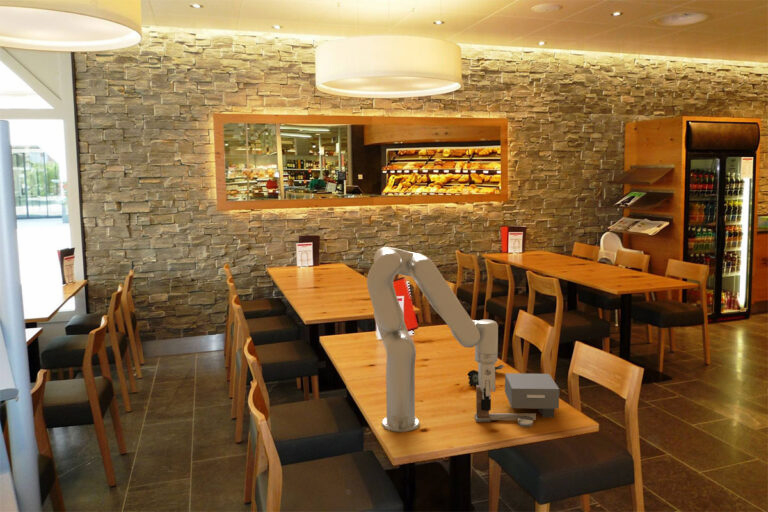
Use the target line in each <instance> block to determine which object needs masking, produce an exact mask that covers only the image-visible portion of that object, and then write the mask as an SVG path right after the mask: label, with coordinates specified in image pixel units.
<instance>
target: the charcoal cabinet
mask: <svg viewBox="0 0 768 512" xmlns="http://www.w3.org/2000/svg"><path fill="white" fill-rule="evenodd" d="M504 393H505V396H506V397H507V401H508V403H509V405H510V408H511V409H537V410H538V412H539V414H540V415H541V417H542V418H553V417H554V418H555V410H556V409H557V410H559V408H560V388H559V386H558V384H557V383H556V382H555V381H554V379H553V377H552V376H551V375H550V373H517V372H515V373H511V372H510V373H504Z"/></svg>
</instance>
